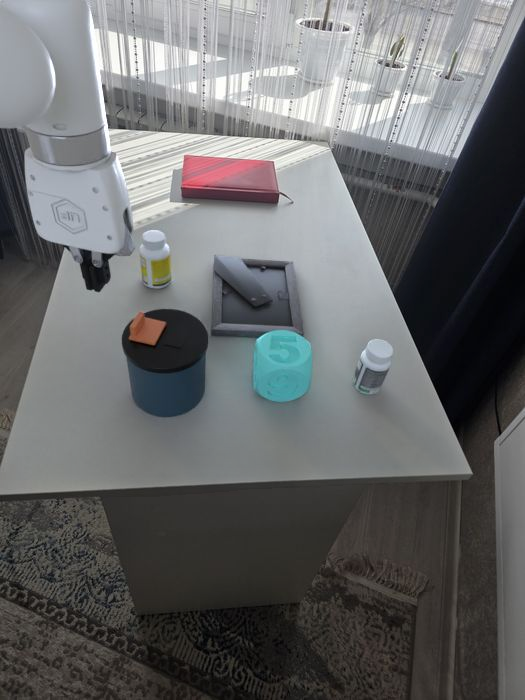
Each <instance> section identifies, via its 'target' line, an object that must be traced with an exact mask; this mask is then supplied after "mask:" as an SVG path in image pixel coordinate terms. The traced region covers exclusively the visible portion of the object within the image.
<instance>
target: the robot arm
mask: <svg viewBox="0 0 525 700" xmlns="http://www.w3.org/2000/svg"><path fill="white" fill-rule="evenodd" d="M97 49H98V48H97V42H96V35H95V28H94V21H93V15H92V9H91V7H90V5H89V2H88V0H0V129H16V132H18V133H20V134H24V135H25V136H26V138H27V141H28V142H27V143H28V145H29V147H28V148H26V149H25V151H24V177H25V186H26V193H27V199H28V204H29V208H30V213H31V218H32V220H33V225H34V228H35V230H36V233H37V235H38V236H39V237H40V238H42V239H44V240H45V241H48V242H50V243H53V244H58V245H62V246H63V248H65V249H66V250H67V251H68V252H70V253H71V256H72V259H73V260H74V262H75V263H77V264H79V266H80V272H81V277H82V279H83V280H84V284H85V289H86V290H87V291H94V292H96V293H100V292H102V290H103V288H104V287H105V286H106V285H107V284H109V283H110V281H111V278H112V275H111V274H112V273H111V268H110V263H109V260H110V259H111V258H113V257H114V256H117V257H130V256H131V255H132V254H133V252H134V251H135V250H136V246H135V243H134V241H133V238H132V236H131V235H133V234H134V218H133V211H132V205H131V200H130V195H129V190H128V187H127V183H126V179H125V174H124V172H123V170H122V166H121V163H120V161H119V158H118V156H117V153H116V152H114V151H111V144H110V136H109V129H108V122H107V116H106V108H105V101H104V100H105V99H104V93H103V87H102V79H101V72H100V71H101V70H100V64H99V56H98V50H97Z"/></svg>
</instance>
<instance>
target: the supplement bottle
mask: <svg viewBox="0 0 525 700" xmlns="http://www.w3.org/2000/svg"><path fill="white" fill-rule="evenodd" d="M141 239H142V243H141V245H140V247H139V251H138V252H139V260H140V262H139V263H140V272H141V279H142V283H143V284H144V286H146V287H148V288H150V289H157V290H158V289H163V288H166V287H167V286H169V285H170V284H171V281H172V267H171V266H172V265H171V263H172V262H171V249H170V246H169V244H167V240H166V239H167V238H166V234H165V233H164V232H163V231H162V230H157V229H151V230H147V231H146V230H145V232H143V233H142V235H141Z"/></svg>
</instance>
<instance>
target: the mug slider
mask: <svg viewBox="0 0 525 700" xmlns="http://www.w3.org/2000/svg"><path fill="white" fill-rule="evenodd" d="M144 313H145V312H144V311H138V312H137V314H136V316H135V317H134V318H135V319H134V318H133V319H134V320H133V319H132V320H133V322H132V324H131V325H130V333H131V335H130V337H129V340H133V341H137V342H141V343H146V344H150V345H154V346H155V344H156V342H157V341H158V339H159V337H160V335H161V333H162V331H163V329H164V328H165V326H166V322H163V321H158V320H154V319H150V318H145V315H144Z"/></svg>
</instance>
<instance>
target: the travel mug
mask: <svg viewBox="0 0 525 700" xmlns="http://www.w3.org/2000/svg"><path fill="white" fill-rule="evenodd" d="M144 315H145V318H150V319H154V320H158V321H163V322H166V326H165V328H164V329H163V331H162V333H161V335H160V337H159V339H158V341H157V342H156V344H155V346H154V345H150V344H146V343H141V342H137V341H133V340H129V337H130V335H131V333H130V325H131V324H132V322H133V320H134V319H135V317H134V318H133V319H131V320H130V321H129V322H128V323H127V325H126V326H125V327H124V329H123V331H122V333H121V347H122V351H123V354H124V356H125V358H126V365H127V371H128V378H129V387H130V392H131V393H130V394H131V397H132V399H133V403H135V405H136V406H137V407H138V408H139V409H140V410H141V411H143V412H145V413H146V414H149V415H150V416H155V417H158V418H175V417H179V416H182V415H185V414H187V413H189V412H190V411H192V410H194V409H195V408H196V407H198V405H199V404H200V403H201V401H202V399H203V397H204V395H205V391H206V369H207V368H206V366H207V352H208V348H209V340H210V339H209V338H210V337H209V331H208V329H207V326H206V325H205V323H204V322H202V320H201V319H199V317H197V316H196V315H194V314H192V313H189V312H187V311H185V310H181V309H175V308H157V309H152V310H148V311H145V312H144Z"/></svg>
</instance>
